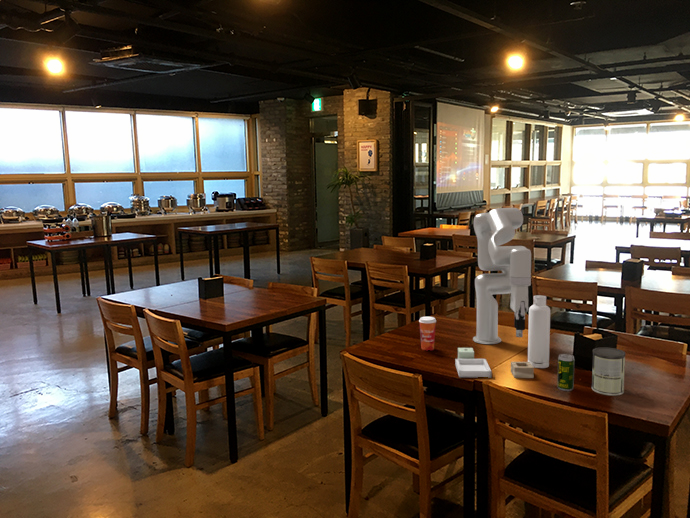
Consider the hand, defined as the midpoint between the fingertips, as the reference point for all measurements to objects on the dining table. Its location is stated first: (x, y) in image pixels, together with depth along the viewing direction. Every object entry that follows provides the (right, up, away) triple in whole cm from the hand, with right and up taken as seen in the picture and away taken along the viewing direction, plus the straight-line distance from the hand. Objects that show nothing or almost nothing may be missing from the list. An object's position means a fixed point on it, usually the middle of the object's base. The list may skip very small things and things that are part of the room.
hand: (519, 328), depth 209 cm
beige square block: (+1, -18, +1) cm, 18 cm away
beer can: (+12, -20, -14) cm, 27 cm away
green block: (-16, -16, +19) cm, 30 cm away
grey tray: (-16, -17, +7) cm, 25 cm away
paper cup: (-29, -14, +37) cm, 49 cm away
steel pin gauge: (0, -3, 0) cm, 3 cm away
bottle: (+11, -16, +12) cm, 23 cm away
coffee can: (+26, -20, -16) cm, 36 cm away
